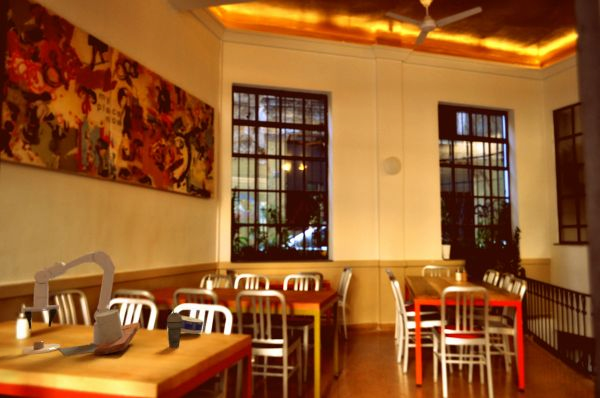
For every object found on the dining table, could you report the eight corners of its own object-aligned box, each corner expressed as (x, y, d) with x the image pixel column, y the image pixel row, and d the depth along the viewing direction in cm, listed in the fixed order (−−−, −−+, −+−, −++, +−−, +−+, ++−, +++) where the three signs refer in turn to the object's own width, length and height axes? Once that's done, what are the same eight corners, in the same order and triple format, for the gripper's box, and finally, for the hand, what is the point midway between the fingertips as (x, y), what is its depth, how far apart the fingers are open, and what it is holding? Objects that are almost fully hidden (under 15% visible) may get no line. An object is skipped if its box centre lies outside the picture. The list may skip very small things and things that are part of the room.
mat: (94, 345, 212) (94, 343, 212) (102, 352, 200) (102, 350, 200) (58, 350, 203) (58, 348, 203) (64, 358, 191) (64, 355, 191)
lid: (62, 343, 213) (61, 335, 214) (58, 351, 198) (57, 342, 198) (20, 349, 207) (20, 340, 207) (12, 358, 191) (12, 348, 191)
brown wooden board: (141, 327, 222) (140, 321, 222) (125, 350, 193) (123, 343, 192) (114, 333, 221) (112, 327, 221) (94, 357, 191) (92, 350, 191)
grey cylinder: (125, 338, 201) (119, 311, 201) (102, 345, 197) (96, 318, 196) (122, 333, 210) (117, 307, 209) (100, 340, 205) (95, 314, 205)
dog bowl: (173, 318, 231) (170, 330, 230) (203, 323, 234) (201, 335, 233) (175, 314, 246) (172, 325, 245) (203, 319, 249) (201, 330, 248)
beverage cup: (177, 349, 206) (178, 304, 208) (163, 348, 208) (163, 303, 209) (185, 345, 213) (185, 302, 215) (170, 344, 215) (171, 301, 216)
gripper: (57, 294, 212) (56, 324, 211) (21, 297, 204) (20, 328, 203) (60, 296, 207) (59, 326, 206) (23, 299, 198) (21, 330, 197)
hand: (39, 327), depth 204 cm, fingers open, 7 cm apart
